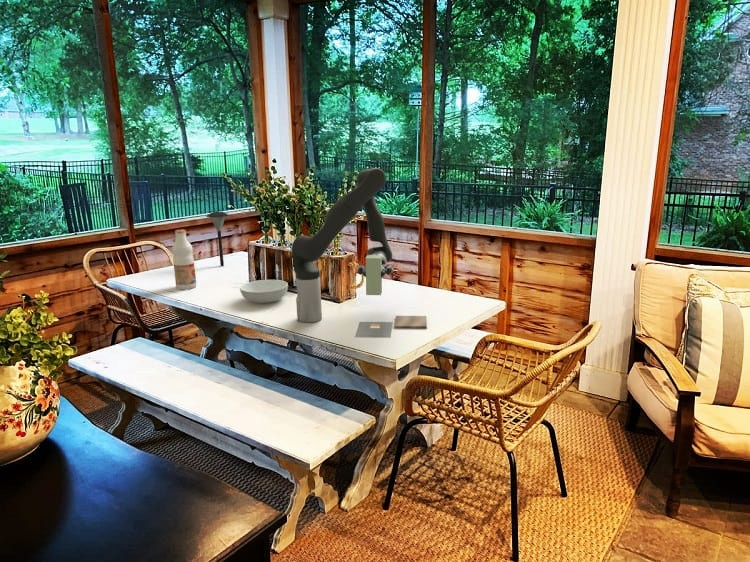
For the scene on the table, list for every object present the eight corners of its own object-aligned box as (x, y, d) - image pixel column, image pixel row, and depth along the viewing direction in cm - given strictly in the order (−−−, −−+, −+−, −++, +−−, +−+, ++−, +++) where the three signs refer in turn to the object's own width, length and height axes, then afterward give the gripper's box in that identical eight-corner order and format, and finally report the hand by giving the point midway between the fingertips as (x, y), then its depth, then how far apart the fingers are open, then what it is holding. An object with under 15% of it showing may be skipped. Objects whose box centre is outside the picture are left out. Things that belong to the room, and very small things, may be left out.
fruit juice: (173, 287, 275) (167, 230, 268) (192, 283, 281) (186, 227, 273) (179, 291, 268) (173, 232, 261) (199, 287, 273) (193, 230, 266)
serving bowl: (267, 291, 266) (266, 276, 264) (298, 298, 253) (297, 284, 251) (231, 301, 250) (229, 286, 249) (262, 310, 237) (260, 294, 236)
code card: (354, 337, 205) (354, 337, 205) (359, 321, 221) (359, 321, 221) (390, 338, 204) (390, 337, 204) (392, 322, 220) (392, 321, 220)
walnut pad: (394, 328, 213) (394, 326, 213) (395, 318, 225) (395, 315, 225) (426, 328, 212) (426, 326, 212) (426, 318, 224) (426, 315, 224)
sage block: (366, 295, 210) (365, 258, 206) (367, 291, 215) (367, 254, 212) (380, 295, 209) (380, 258, 206) (381, 291, 215) (381, 255, 211)
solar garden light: (216, 269, 307) (211, 214, 299) (207, 266, 316) (201, 212, 308) (237, 266, 315) (232, 212, 307) (227, 262, 324) (222, 210, 316)
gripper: (358, 254, 224) (353, 264, 207) (394, 254, 223) (393, 264, 206) (358, 272, 226) (354, 284, 209) (394, 273, 224) (393, 284, 208)
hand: (373, 274), depth 208 cm, fingers closed on sage block, 5 cm apart
